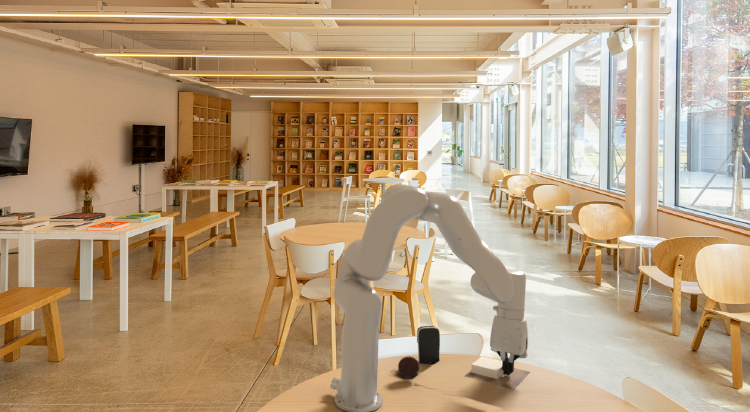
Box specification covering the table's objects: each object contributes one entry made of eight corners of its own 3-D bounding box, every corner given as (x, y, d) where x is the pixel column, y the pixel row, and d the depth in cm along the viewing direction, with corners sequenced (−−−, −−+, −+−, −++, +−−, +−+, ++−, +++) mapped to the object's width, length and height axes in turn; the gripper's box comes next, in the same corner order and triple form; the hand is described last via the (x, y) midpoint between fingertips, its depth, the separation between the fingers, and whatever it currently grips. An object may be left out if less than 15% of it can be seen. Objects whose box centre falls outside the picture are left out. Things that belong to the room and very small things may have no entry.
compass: (416, 370, 166) (417, 347, 165) (418, 381, 158) (419, 357, 157) (390, 370, 166) (391, 347, 165) (391, 381, 158) (392, 356, 157)
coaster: (471, 372, 162) (471, 364, 162) (481, 364, 168) (481, 356, 168) (497, 379, 157) (497, 370, 157) (506, 370, 164) (507, 362, 164)
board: (463, 381, 159) (463, 376, 159) (483, 365, 172) (483, 360, 172) (513, 394, 151) (514, 389, 151) (530, 376, 164) (530, 372, 163)
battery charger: (437, 359, 175) (437, 324, 174) (440, 363, 171) (440, 327, 170) (416, 360, 174) (415, 325, 173) (418, 364, 170) (418, 328, 169)
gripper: (481, 311, 159) (478, 371, 161) (532, 320, 151) (528, 384, 152) (491, 305, 165) (488, 363, 167) (540, 314, 157) (536, 375, 159)
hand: (507, 373), depth 160 cm, fingers closed
